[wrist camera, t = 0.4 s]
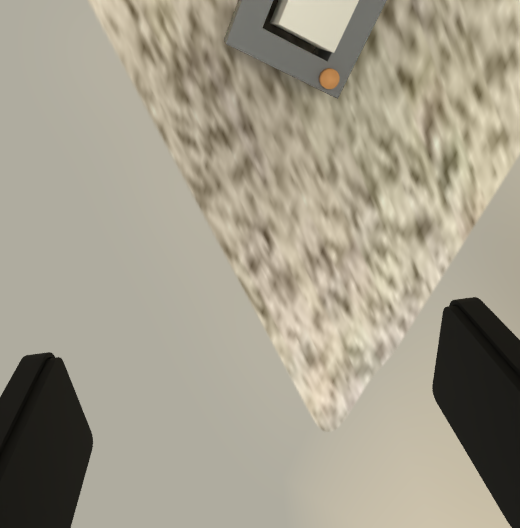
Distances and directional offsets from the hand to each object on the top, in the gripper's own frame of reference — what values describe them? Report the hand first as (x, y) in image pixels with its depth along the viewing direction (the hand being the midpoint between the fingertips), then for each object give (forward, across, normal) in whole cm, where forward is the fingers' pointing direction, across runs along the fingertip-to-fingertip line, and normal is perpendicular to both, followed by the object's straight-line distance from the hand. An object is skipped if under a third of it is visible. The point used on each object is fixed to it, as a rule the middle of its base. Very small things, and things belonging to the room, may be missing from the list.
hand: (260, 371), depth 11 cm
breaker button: (+24, -6, -8) cm, 26 cm away
